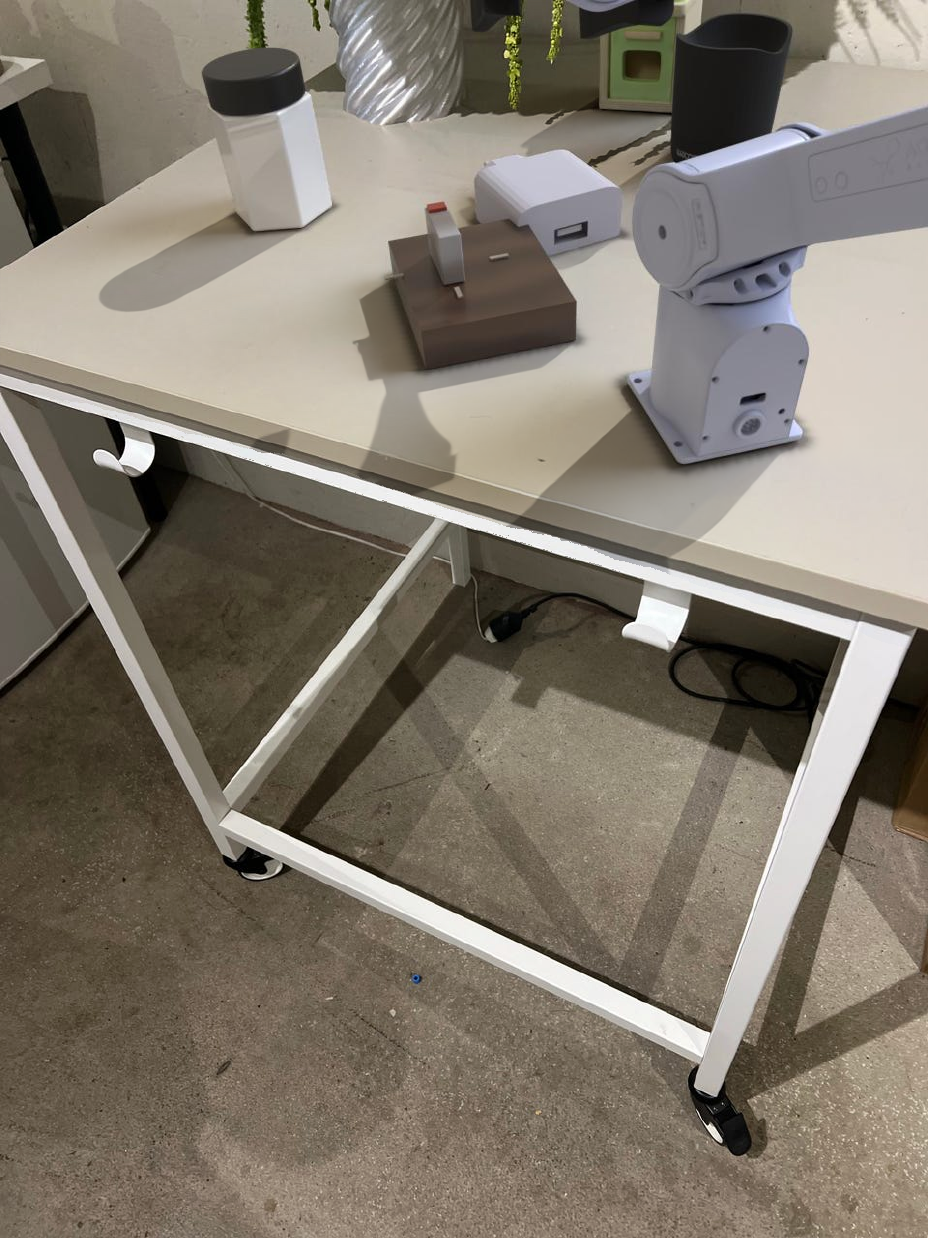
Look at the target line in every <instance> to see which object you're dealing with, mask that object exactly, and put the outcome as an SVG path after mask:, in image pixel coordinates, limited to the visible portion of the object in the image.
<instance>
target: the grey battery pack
mask: <svg viewBox="0 0 928 1238" xmlns="http://www.w3.org/2000/svg"><path fill="white" fill-rule="evenodd" d="M424 214H425V223H426V231H427V233H426V234H428V242H429V250H430V254H431V257H432V259H433V261H434V264H435V266H436V268H437V271H438V273H439V275H440V278H441V280H442V282H443V284H444V285H448V284H453V283H458V282H463V281H465V276H464V265H463V253H462V241H461V234H460V232H459V230H458V228H459V227H458V225H457V224H456V221H455V220H454V218H453V216H452V214H451V211H450V210H449V208H448V206H447V204H446V203H445V201H438V202H433V203H428V204H426V206H425V207H424Z"/></svg>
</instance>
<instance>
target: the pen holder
mask: <svg viewBox="0 0 928 1238" xmlns="http://www.w3.org/2000/svg"><path fill="white" fill-rule="evenodd" d="M793 30H794V29H793V26H792V25H791V23H790V22H788V21H787V20H785V19H782V18H779V17H777V16H773V15H768V14H762V13H750V12H730V13H723V14H717V15H715V16H713V17H710V18H708V19H706V20H705V21H703V22H702V23H700V25H699V26H698V27H697V28H695V29H694V30H693V31H691V32H689V33H688V34H685V35H683V34H681V33H677V34H676V48H675V66H674V83H673V101H672V113H671V121H670V122H671V123H670V143H669V144H670V145H669V147H670V149H669V151H670V156H671V159H672V160H673V162H674V163H679V162H682V161H685V160H688V159H691V158H694V157H697V156H701V155H704V154H707V153H710V152H713V151H716V150H720V149H723V148H726V147H729V146H732V145H735V144H739V143H742V142H745V141H748V140H751V139H754V138H758V137H761V136H764V135H767V134H770V133H773V132H772V131H773V127H774V124H775V120H776V114H777V109H778V104H779V100H780V95H781V90H782V86H783V81H784V76H785V72H786V66H787V62H788V57H789V53H790V47H791V43H792V38H793Z"/></svg>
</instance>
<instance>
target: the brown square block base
mask: <svg viewBox="0 0 928 1238" xmlns="http://www.w3.org/2000/svg"><path fill="white" fill-rule="evenodd" d="M457 228H458V230H459V232H460V234H461V241H462V253H463V265H464V276H465V281H463V282H458V283H453V284H448V285H444V284H443V282H442V280H441V278H440V275H439V273H438V271H437V268H436V266H435V264H434V261H433V259H432V257H431V254H430V250H429V242H428V233H424V234H419V235H418V234H417V235H413V236H408V237H402V238H397V239H396V238H395V239H392V240H388V241H387V246H388V251H389V258H390V265H391V271H392V274H389V275H385V276H384V280H385V281H391V280H394V283H395V286H396V289H397V291H398V294H399V297H400V300H401V303H402V306H403V308H404V311H405V314H406V317H407V320H408V322H409V325H410V328H411V331H412V333H413V336H414V340H415V342H416V345H417V349H418V351H419V354H420V356H421V359H422V362H423V364H424V367H425V370H433V369H438V368H443V367H448V366H451V365H458V364H463V363H467V362H472V361H477V360H482V359H487V358H492V357H498V356H502V355H508V354H513V353H517V352H523V351H527V350H533V349H538V348H543V347H548V346H553V345H558V344H562V343H567V342H573V341H577V313H578V312H577V310H578V307H577V306H578V301H577V300H576V298H575V297H574V294H573V293H572V291H571V289H570V288H569V287H568V285H567V283H566V282H565V280H564V279H563V277H562V276H561V274H560V272H559V271H558V269H557V268H556V266H555V264H554V263H553V261H552V260H551V258H550V256H548V255H547V253H546V252H545V250H544V248H543V247H542V245H541V244H540V242H539V240H538V239H537V237H536V236H535V234H534V233H533V231H532V229H531V228H530V226H529V225H528V224H527V225H524V226H520V227H518V226H517V225H516V224H515V223H514V222H513V221H511V220H510V219H504V220H499V221H494V222H488V223H483V224H481V223H479V224H473V225H467V226H462V227H457Z"/></svg>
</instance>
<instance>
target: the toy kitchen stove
mask: <svg viewBox="0 0 928 1238" xmlns="http://www.w3.org/2000/svg"><path fill="white" fill-rule="evenodd" d="M702 9H703V0H674V12H673V15H672V17H671V19H670V20H669V21H668V22H666V23H665V24H664V25H663V26H644V25H637V26H630V27H626V28H622V29H619V30H616V31H613V32H610V33H607V34H605V35H602V36H599V88H598V89H599V90H598V91H599V93H598V94H599V98H598V106H599V109H601V110H613V111H616V110H617V111H633V112H634V111H635V112H652V113H668V114H669V113H671V114H672V101H673V83H674V66H675V48H676V34H677V33H681V34H683V35H685V34H688V33H689V32H691V31H693V30H694V29H695V28H697V27H698V26H699V25H701V24H702V23H701V21H702V13H703V12H702V11H703V10H702Z"/></svg>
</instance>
